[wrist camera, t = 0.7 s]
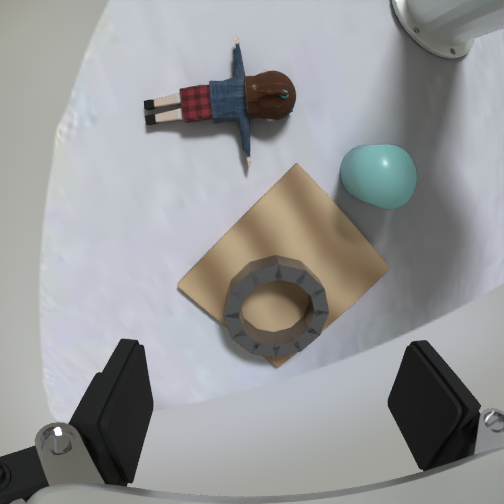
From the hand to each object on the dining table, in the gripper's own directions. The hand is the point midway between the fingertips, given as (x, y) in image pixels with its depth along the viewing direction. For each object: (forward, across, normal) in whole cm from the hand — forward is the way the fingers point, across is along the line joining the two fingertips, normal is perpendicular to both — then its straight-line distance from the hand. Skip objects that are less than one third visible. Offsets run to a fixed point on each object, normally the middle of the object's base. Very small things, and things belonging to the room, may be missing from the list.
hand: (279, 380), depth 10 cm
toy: (+25, +4, -13) cm, 28 cm away
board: (+24, -4, +5) cm, 25 cm away
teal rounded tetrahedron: (+24, -12, -6) cm, 28 cm away
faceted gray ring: (+23, -3, +8) cm, 25 cm away
